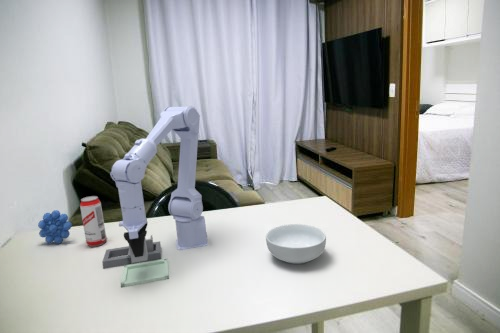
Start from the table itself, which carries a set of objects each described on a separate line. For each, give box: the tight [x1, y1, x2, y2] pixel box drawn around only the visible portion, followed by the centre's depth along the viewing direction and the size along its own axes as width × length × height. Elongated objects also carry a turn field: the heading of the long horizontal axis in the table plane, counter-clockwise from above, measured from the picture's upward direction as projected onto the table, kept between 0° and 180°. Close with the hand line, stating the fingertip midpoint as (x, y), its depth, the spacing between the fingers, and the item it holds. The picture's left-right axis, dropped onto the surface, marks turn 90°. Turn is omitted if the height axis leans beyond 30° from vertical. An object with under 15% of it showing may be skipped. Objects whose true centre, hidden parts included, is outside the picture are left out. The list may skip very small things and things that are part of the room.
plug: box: [128, 238, 148, 264], centre depth 92 cm, size 4×4×6 cm
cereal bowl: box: [265, 223, 327, 265], centre depth 98 cm, size 17×17×7 cm
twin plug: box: [145, 234, 154, 252], centre depth 103 cm, size 4×4×6 cm
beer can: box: [79, 195, 108, 248], centre depth 113 cm, size 6×6×16 cm
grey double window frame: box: [101, 241, 162, 270], centre depth 103 cm, size 16×8×3 cm, turn 104°
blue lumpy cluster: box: [38, 210, 73, 245], centre depth 117 cm, size 12×7×12 cm, turn 87°
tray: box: [120, 258, 170, 288], centre depth 93 cm, size 12×10×1 cm
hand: (139, 252), depth 92 cm, fingers closed on plug, 3 cm apart
